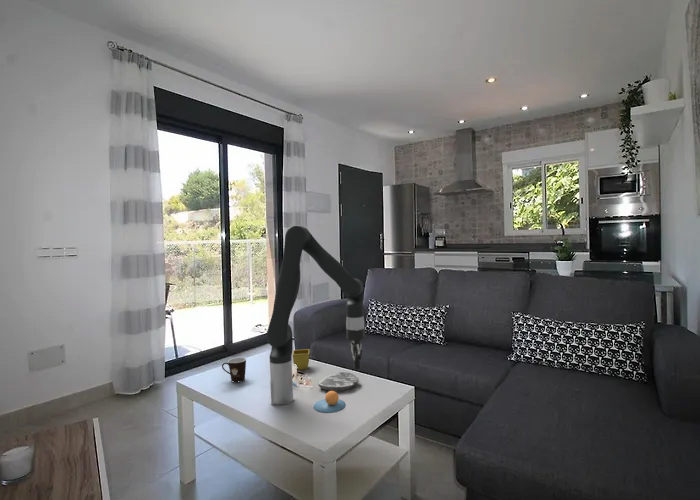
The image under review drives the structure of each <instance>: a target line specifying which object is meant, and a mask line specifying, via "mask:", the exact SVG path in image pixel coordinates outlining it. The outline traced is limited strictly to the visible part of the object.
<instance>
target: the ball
mask: <svg viewBox="0 0 700 500" xmlns="http://www.w3.org/2000/svg"><path fill="white" fill-rule="evenodd" d="M324 399H325V400H326V402H327V404H329V405H335V404H336V403H337V402H338V399H339V394H338V392H337V391H336V392H335V391H327V393H326V394H325V397H324Z"/></svg>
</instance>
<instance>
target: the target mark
mask: <svg viewBox="0 0 700 500" xmlns="http://www.w3.org/2000/svg"><path fill="white" fill-rule="evenodd" d="M345 407H346V402H345V401H344V400H342V399H341V398H340V399H338V402H337V403H336V404H335V405H329V404H327V402H326V400H325V398H324V399H320V400H318V401H316V402H315V403H314V404H313V409H314V411H316V412H319V413H325V414H326V413H327V414H329V413H331V414H332V413H336V412H340V411H341V410H343V409H344V408H345Z"/></svg>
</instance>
